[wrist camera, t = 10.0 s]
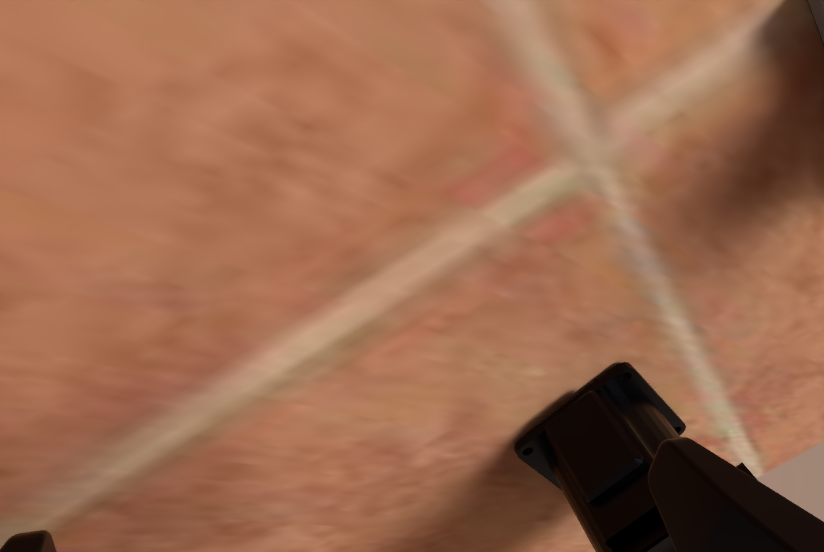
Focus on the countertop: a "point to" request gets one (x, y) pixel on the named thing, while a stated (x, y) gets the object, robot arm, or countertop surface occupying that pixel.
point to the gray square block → (818, 14)
